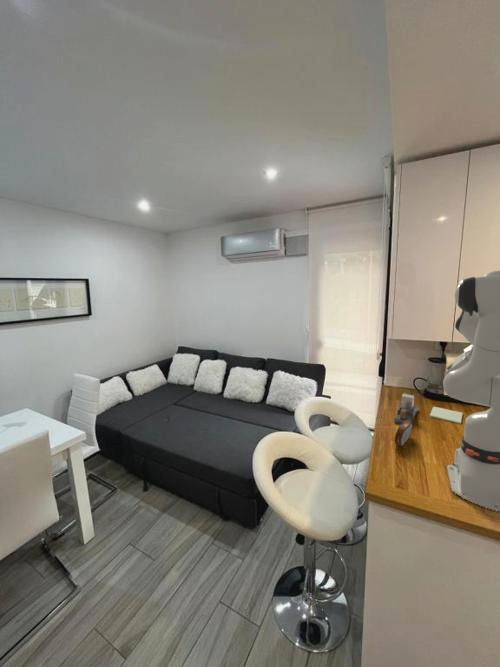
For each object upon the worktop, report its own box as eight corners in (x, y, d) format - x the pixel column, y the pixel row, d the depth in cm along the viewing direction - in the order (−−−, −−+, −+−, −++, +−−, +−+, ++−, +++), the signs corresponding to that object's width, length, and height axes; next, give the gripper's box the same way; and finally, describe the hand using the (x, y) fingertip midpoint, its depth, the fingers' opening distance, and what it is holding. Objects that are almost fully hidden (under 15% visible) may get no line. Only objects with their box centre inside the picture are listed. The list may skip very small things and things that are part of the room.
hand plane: (409, 426, 132) (410, 414, 131) (394, 422, 137) (394, 410, 136) (418, 410, 149) (418, 399, 148) (403, 407, 153) (404, 396, 152)
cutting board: (460, 424, 133) (461, 422, 133) (429, 416, 142) (429, 415, 141) (462, 414, 143) (462, 412, 143) (433, 407, 151) (433, 406, 151)
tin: (405, 433, 127) (406, 417, 125) (412, 436, 124) (414, 419, 123) (393, 447, 117) (394, 429, 115) (401, 450, 114) (402, 431, 113)
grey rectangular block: (411, 414, 139) (412, 398, 138) (400, 411, 143) (401, 395, 141) (413, 411, 142) (414, 395, 141) (402, 409, 146) (403, 393, 144)
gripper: (470, 345, 129) (443, 361, 137) (468, 354, 114) (438, 372, 122) (481, 355, 127) (453, 371, 135) (480, 366, 112) (449, 383, 120)
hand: (446, 372), depth 128 cm, fingers open, 8 cm apart
